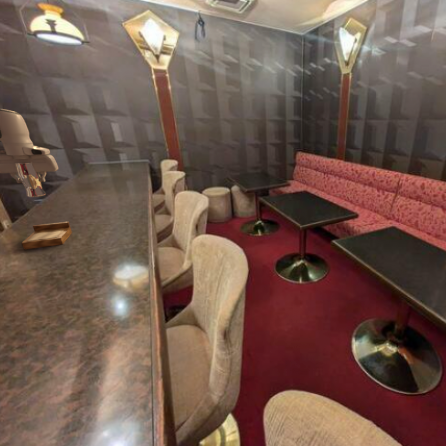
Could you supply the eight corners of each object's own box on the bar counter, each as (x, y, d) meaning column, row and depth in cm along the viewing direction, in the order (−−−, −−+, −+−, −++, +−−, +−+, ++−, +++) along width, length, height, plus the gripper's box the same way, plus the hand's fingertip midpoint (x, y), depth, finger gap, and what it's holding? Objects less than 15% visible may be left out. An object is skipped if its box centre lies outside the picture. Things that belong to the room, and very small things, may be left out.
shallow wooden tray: (24, 249, 100) (19, 237, 98) (37, 236, 112) (33, 225, 110) (63, 244, 106) (59, 232, 104) (72, 232, 117) (68, 221, 115)
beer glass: (43, 192, 118) (32, 160, 112) (49, 195, 114) (38, 162, 109) (23, 195, 112) (10, 162, 106) (28, 198, 109) (15, 163, 103)
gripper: (-20, 151, 98) (-5, 185, 103) (49, 150, 108) (59, 182, 113) (-11, 149, 104) (2, 182, 109) (54, 149, 113) (63, 179, 118)
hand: (32, 182), depth 111 cm, fingers closed on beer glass, 6 cm apart
